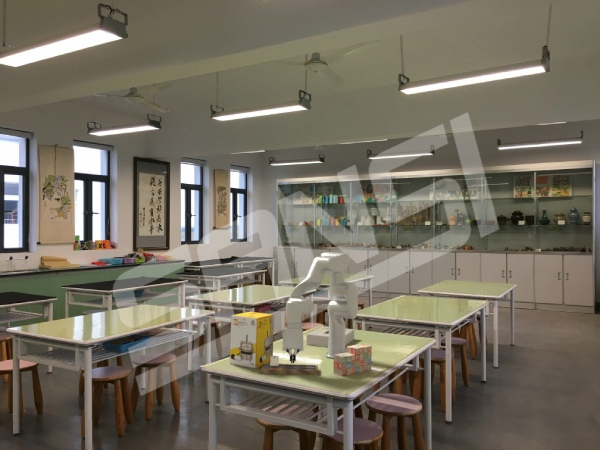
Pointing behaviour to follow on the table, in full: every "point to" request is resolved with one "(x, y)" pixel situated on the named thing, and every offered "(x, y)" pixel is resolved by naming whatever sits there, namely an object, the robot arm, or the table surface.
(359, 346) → the stack of blocks
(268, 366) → the fader console
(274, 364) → the fader knob
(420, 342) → the table surface
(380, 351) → the table surface
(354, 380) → the table surface
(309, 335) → the box
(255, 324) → the packaging box
